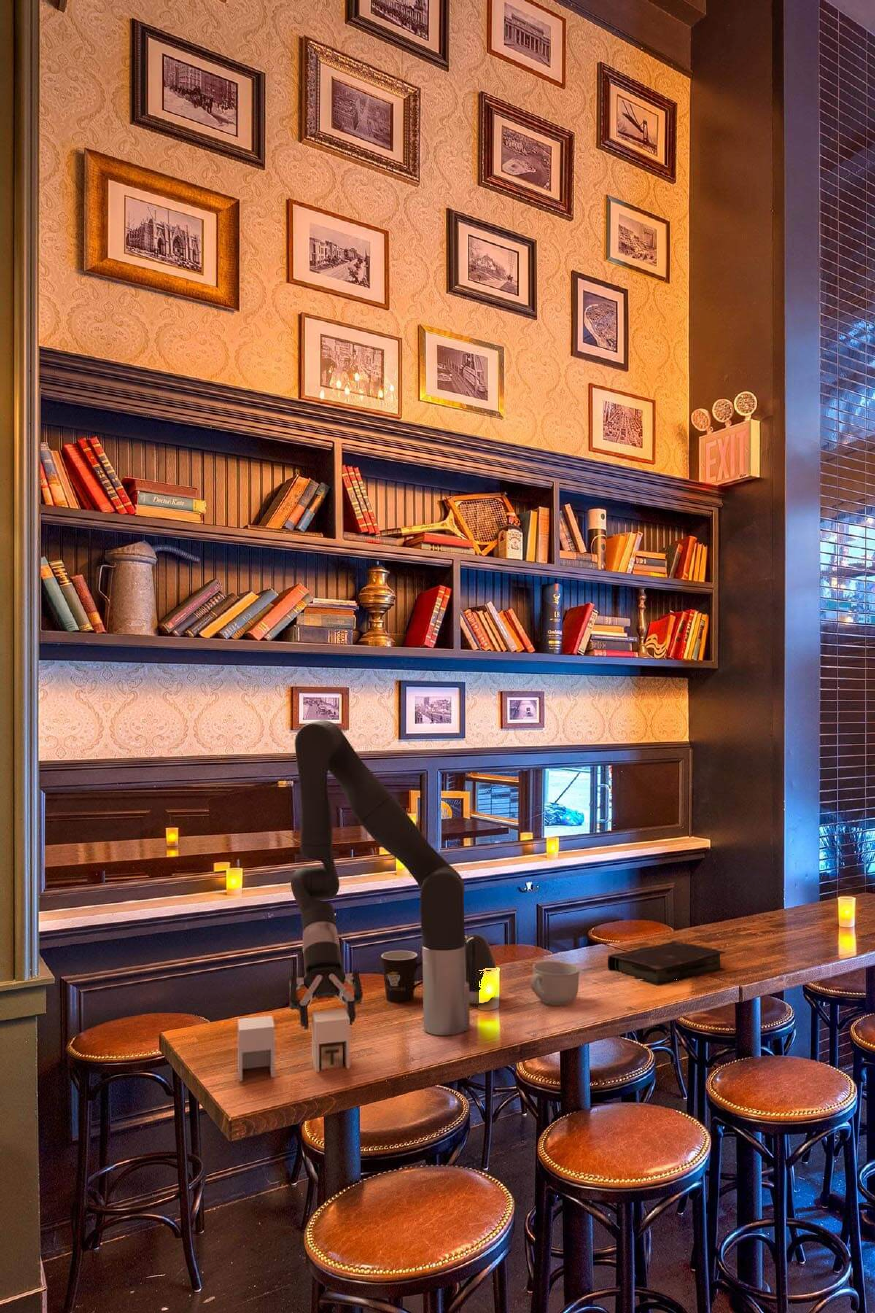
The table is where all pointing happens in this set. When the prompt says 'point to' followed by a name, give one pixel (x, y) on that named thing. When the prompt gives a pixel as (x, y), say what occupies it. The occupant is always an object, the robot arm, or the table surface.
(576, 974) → the teacup
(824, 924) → the table surface
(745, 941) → the table surface
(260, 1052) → the grey cover
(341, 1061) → the letter cube
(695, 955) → the diary
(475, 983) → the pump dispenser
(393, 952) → the coffee mug
